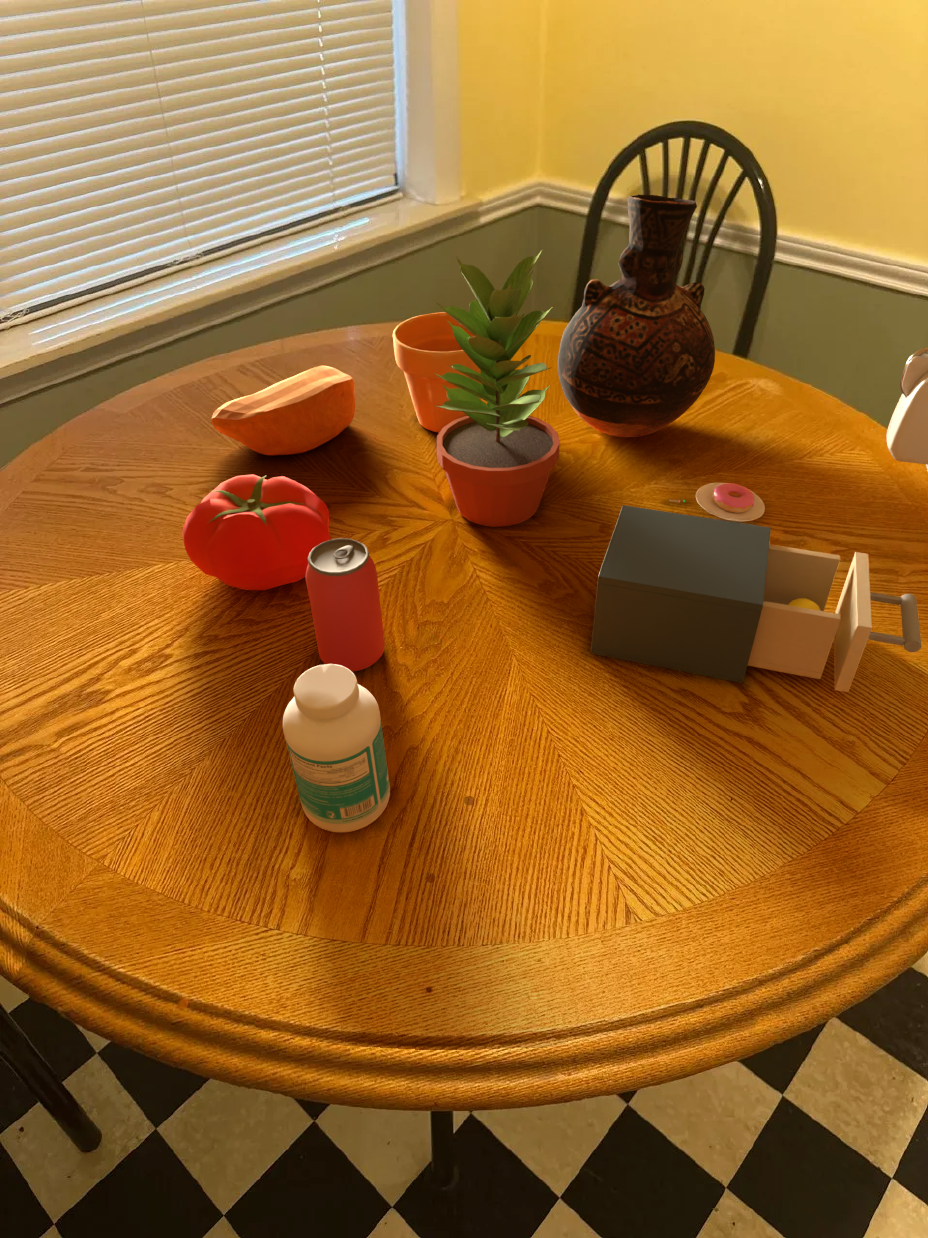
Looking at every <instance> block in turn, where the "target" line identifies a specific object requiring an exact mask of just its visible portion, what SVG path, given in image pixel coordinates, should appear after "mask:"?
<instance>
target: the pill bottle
mask: <svg viewBox="0 0 928 1238" xmlns="http://www.w3.org/2000/svg"><path fill="white" fill-rule="evenodd" d="M293 695H294V696H293V697H292V699H290V701H289V702H288V704H287V706H286V708H285V710H284V712H283V717H282V731H283V735H284V739H285V744H286V748H287V751H288V756H289V761H290V763H291V767H292V773H293V776H294V780H295V784H296V785H295V786H296V788H297V792H298V796H299V800H300V804H301V807H302V810H303V813H304V814H305V816H306V817H307V819H308V820H309V821H310V822H311V823H312V824H313V825H314V826H316V827H318V828H319V829H322V830H324V831H328V832H332V833H350V832H355V831H358V830H361V829H363V828H366V827H368V826H369V825H371V824H372V823H374V822H375V821H376V820H377V819H378V818H379V817H381V815H382V814H383V812H384V811H385V810H386V808H387V806H388V803H389V800H390V796H391V784H390V777H389V769H388V763H387V755H386V747H385V740H384V739H385V738H384V732H383V726H382V725H383V723H382V719H381V718H382V717H381V711H380V706H379V704H378V702H377V700H376V698H375V696H374V695H373V694H372V693H371V692H370V691H369V690H368V689H367V688H365V687H364V686H363V685H361V684H359V683H358V680H357V676H356V674H355V673H354V672H352V671H351V670H349V669H348V668H346V667H344V666H341V665H336V664H324V663H323V664H319V665H316V666H313V667H311V668H308V669H307V670H305V671H304V672H303V673H301V674H300V675H299V676H298V678H297V679H296V680H295V683H294V685H293Z"/></svg>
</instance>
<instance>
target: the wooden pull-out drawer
mask: <svg viewBox="0 0 928 1238" xmlns="http://www.w3.org/2000/svg"><path fill="white" fill-rule="evenodd" d="M869 560H870V558H869V553H864V552H858V551H854V554H853V557H852V559H851V564H850V566H849V569H848V572H847V575H846V579H845V581H844V584H843V588H842V590H841V594H840V597H839V600H838V603H837V605H836V609H835V611H834V612H830V611H825V608H826V606H827V603H828V600H829V597H830V594H831V590H832V587H833V584H834V581H835V578H836V574H837V572H838V569H839V565H840V561H841V555H839V554H835V553H827V552H821V551H814V550H808V549H801V548H795V547H790V546H783V545H777V544H776V545H775V544H770V543H769V552H768V562H767V572H766V582H765V592H764V602H763V608H762V611H761V615H760V619H759V623H758V627H757V631H756V635H755V639H754V642H753V646H752V650H751V654H750V658H749V662H748V666H747V667H753V668H757V669H758V668H759V669H764V670H769V671H774V672H779V673H785V674H790V675H795V676H801V677H805V678H810V679H815V680H821V678H822V675H823V672H824V669H825V667H826V665H827V661H828V658H829V655H830V652H831V649H832V646H833V643H834V691H838V692H843V693H849V691H850V688H851V686H852V684H853V681H854V678H855V675H856V673H857V670H858V667H859V665H860V661H861V659H862V656H863V654H864V651H865V648H866V646H867V643H868V641H872V642H873V641H874V642H880V643H883V644H890V645H897V646H900V647H901V646H902V647H903V648H904V650H905V651H906V652H908V653H917V652H919V651H920V650H921V649H922V647H923V645H922V636H921V635H922V634H921V627H920V620H919V610H918V601H917V596H916V595H914V594H912V593H905V594H902V595H901V596H896V595H891V594H885V593H879V592H873V591H871V580H870V579H871V578H870V561H869ZM799 598H806V599H809V600H811V601H813V602H815V603H816V604H817V605H818V606H819V608H820V610H821V611H819V610H813V609H807V608H801V607H795V606H790V605H788V604H789V603H790V602H791V601H792V600H795V599H799ZM872 602H878V603H882V604H889V605H896V606H899V607H900V618H901V630H902V636H901V635H894V634H888V633H883V632H878V631H877V632H876V631H872V630H873V620H872Z"/></svg>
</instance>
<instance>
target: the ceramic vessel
mask: <svg viewBox="0 0 928 1238" xmlns="http://www.w3.org/2000/svg"><path fill="white" fill-rule="evenodd" d="M697 207H698V204H697V201H695V200H692V199H685V198H684V199H683V198H678V197H668V196H662V195H658V194H648V193H647V194H646V193H645V194H644V193H643V194H639V193H638V194H635V195H629V196H628V197H627V213H628V221H629V222H628V223H629V224H628V226H629V235H628V239H629V240H628V244H627V246H626V247H625V248H624V249H623V251H622V252H621V254H620V256H619V259H618V269H619V270H620V273H621V277H620V279H618V280H617V281H615V282H613V283H612V284H610V285H606V284H604V283H603V282H602V281H601V280H600V279H596V278H592V279H590V280H589V281H588V282H587V284H586V286H585V288H584V292H583V300H582V304H581V307H580V308H579V309H578V310H577V311H576V312H575V313H574V315H573V316H572V318H571V319H570V321H569V322H568V323H567V325H566V327H565V328H564V330H563V331H562V335H561V339H560V343H559V350H558V355H557V375H558V380H559V383H560V387H561V390H562V393H563V395H564V398H565V399H566V400H567V402H568V403H569V405H570V406H571V408H572V409H573V411H574V412H575V413H576V414H577V416H578V417H579V418H580V419H581V420H582V421H583V422H584V423H586V424H587V425H588V426H589V427H590V428H593V429H594V430H596V431H597V432H600V433H602V434H605V435H609V436H612V437H616V438H639V437H645V436H647V435H651V434H654V433H656V432H658V431H660V430H662V429H664V428H665V427H667V426H669V425H670V424H672V423H673V422H676V420H677V419H679V418H680V417H681V416H683V415H684V414H685V413H686V412H687V411H688V410H689V409H690V408H691V407H692V406H693V405H694V404H695V403H696V402H697V400H698V399H699V398H700V397H701V395H702V393H703V391H704V390H705V388H706V387H707V385H708V383H709V382H710V380H711V377H712V374H713V371H714V367H715V362H716V348H715V339H714V335H713V331H712V328H711V325H710V322H709V321H708V319H707V316H706V315H705V314H704V313H703V310H702V304H703V299H704V296H705V286H704V284H702V283H701V282H697V281H696V282H695V281H694V282H692V283H688V284H686V285H684V286H680V285H678V284H677V283H676V282H675V278H676V276H677V275H678V274H679V272H680V270H681V268H682V265H683V260H684V251H683V249H682V247H681V244H682V242H683V239H684V236H685V233H686V231H687V228H688V226H689V224H690V221H691V220H692V217H693V215H694V214H695V212H696V210H697Z"/></svg>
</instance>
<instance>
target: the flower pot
mask: <svg viewBox="0 0 928 1238" xmlns="http://www.w3.org/2000/svg"><path fill="white" fill-rule="evenodd" d="M447 320H448V321H449V322H450V323H451V324H452V325H453V326H458V327H460V328H462V329H463V330H464V331H465V332H466V333H468V334H469V335H470V336H471V337H475V335H473V334H472V333H471V332H470V331H468V330H467V329H466V328H465V327H463V326H462V325H461V324H460V323H458V322H457V321H456V320H455V319H453V318H452V317H451V316H450V315H448V314H447V313H446V312H445V311H442V312H432V313H425V314H420V315H416V316H413V317H410V318H408V319H406V320H404V321H402V322H400V323H399V324H398V325H397V326H396V327H395V328H394V330H393V332H392V342H393V351H394V359H395V363H396V365H397V367H398V368H399V369H400V370H401V371H403V374H404V377H405V380H406V384H407V388H408V391H409V395H410V398H411V402H412V405H413V407H414V411H415V414H416V417H417V420H418V423H419V424H420V425H421V426H422V427H423V428H424V429H426V430H428V431H431V432H435V433H438V434H439V433H440V431H441V430H442V428H443V427H445V426H446V425H448V424H449V423H451V422H452V421H454V420H456V419H459V418H461V417H464V416H467V415H466V414H465V413H464V412H461V411H454V410H448V409H445V408H440V407H435V406H442V405H443V404H444V402H446V401H450V400H449V398H448V397H447V391H446V389H445V388H444V387H443V386H442V385H444V386H445V387H447V388H449V389H452V388H459V387H457V386H455V385H453V384H451V383H449V382H447V381H445V380H444V379H442V378H440V377H439V376H437V375H440V376H442V375H444V374H446V373H450V372H452V373H457V374H460V375H464V376H466V377H468V378H470V379H473V378H471V377H469V376H467V375H465V374H463V373H461V372H459V371H457V370H455V369H453V368H451V367H452V366H453V364H460V365H463V366H465V367H468V368H470V369H472V370H474V371H476V372H478V373H479V374H481V372H480V369H479V368H478V367H477V366H476V365H475V364H474V362H473V361H472V360H471V359H470V358H469V357H468V355H467V354H466V353H465V352H464V351H463V349H462V348H461V347H460V345H459V344H458V343H457V341H456V339H455V337H454V334H453V330H452V327H451V326H450V324H449V323H448V322H447ZM447 365H449V366H451V367H449V366H447ZM434 373H435V374H437V375H435V374H434ZM473 380H475V379H473ZM475 381H476V380H475ZM476 382H478V381H476ZM478 383H480V382H478ZM480 384H482V383H480ZM478 398H479V397H478ZM479 399H481V398H479ZM481 400H482V401H483V402H484V400H483V399H481Z"/></svg>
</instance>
